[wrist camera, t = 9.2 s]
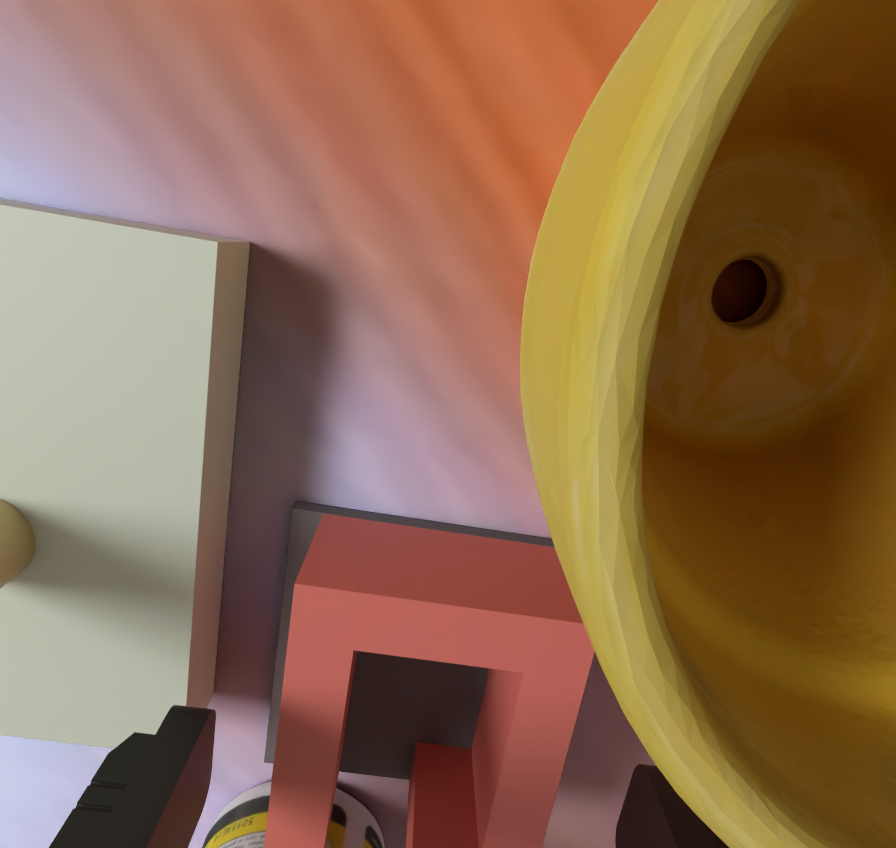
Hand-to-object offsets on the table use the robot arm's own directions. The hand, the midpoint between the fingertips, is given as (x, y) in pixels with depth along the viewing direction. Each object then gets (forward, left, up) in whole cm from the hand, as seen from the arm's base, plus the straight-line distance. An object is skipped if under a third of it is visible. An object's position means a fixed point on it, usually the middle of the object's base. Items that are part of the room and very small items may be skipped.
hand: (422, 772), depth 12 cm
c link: (0, 0, -3) cm, 3 cm away
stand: (-3, -9, -4) cm, 10 cm away
